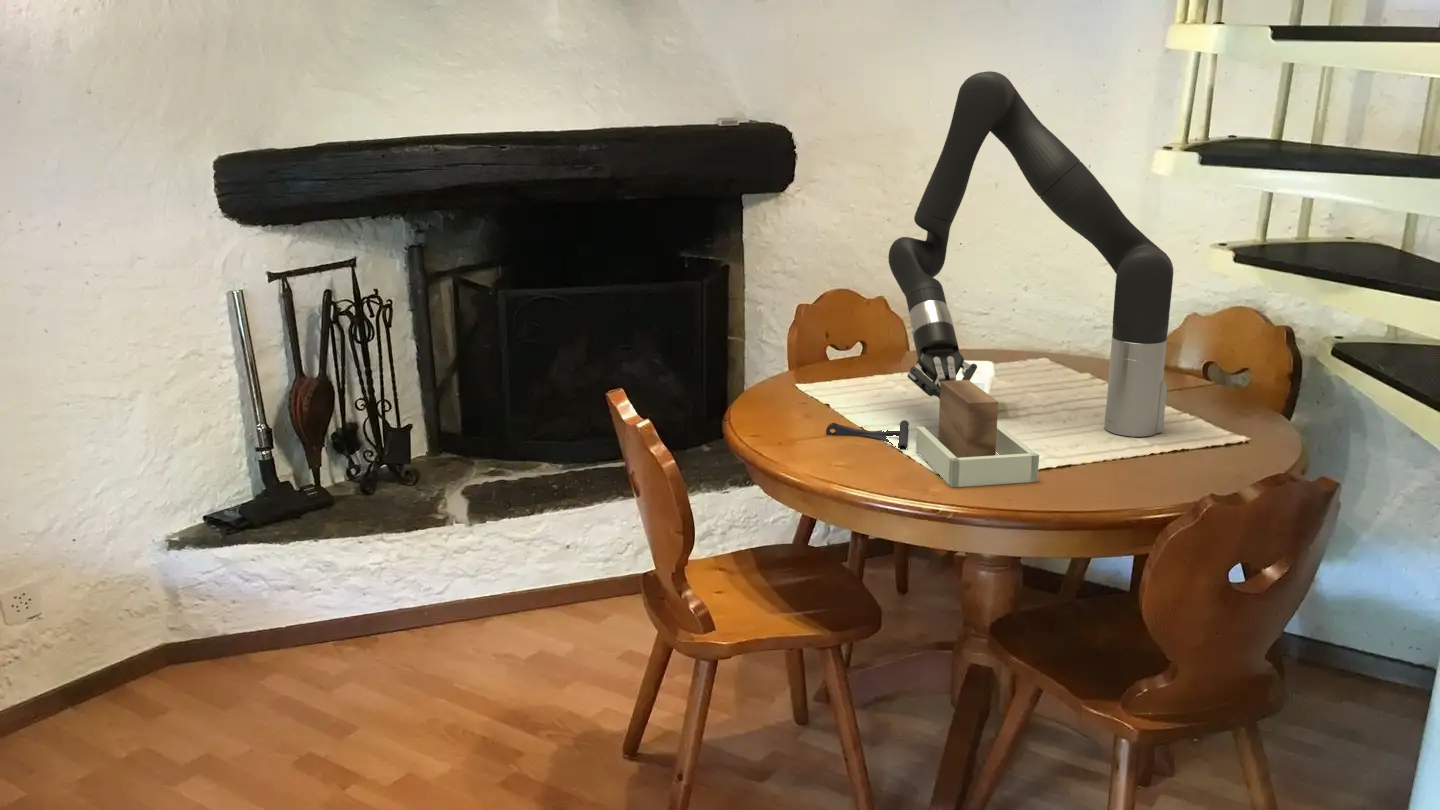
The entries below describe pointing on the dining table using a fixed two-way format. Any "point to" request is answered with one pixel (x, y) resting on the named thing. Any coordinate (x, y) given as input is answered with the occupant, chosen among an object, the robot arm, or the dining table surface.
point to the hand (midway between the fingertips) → (952, 414)
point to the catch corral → (981, 461)
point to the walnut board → (967, 419)
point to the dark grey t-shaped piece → (872, 433)
